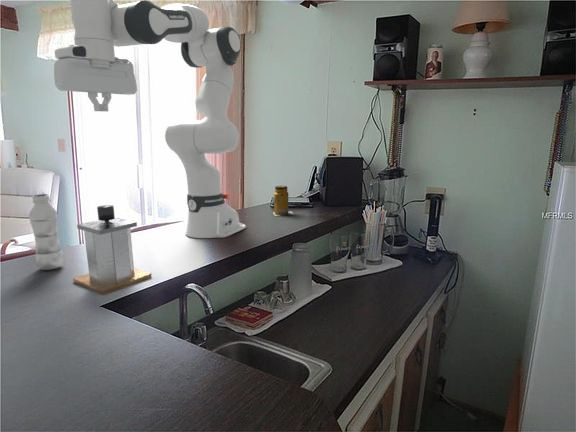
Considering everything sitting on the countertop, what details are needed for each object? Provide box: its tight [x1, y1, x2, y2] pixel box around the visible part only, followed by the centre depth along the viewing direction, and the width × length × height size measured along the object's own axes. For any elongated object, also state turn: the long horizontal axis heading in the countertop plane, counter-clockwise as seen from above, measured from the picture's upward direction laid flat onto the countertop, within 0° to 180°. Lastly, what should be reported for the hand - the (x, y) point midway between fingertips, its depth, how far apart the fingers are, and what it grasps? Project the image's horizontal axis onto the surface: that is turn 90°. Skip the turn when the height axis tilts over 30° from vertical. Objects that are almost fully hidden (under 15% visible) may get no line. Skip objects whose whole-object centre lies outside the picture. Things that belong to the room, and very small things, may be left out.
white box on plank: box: [72, 217, 152, 296], centre depth 99 cm, size 13×13×14 cm
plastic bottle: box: [28, 193, 65, 271], centre depth 106 cm, size 6×7×20 cm
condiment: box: [272, 185, 295, 217], centre depth 172 cm, size 7×8×12 cm
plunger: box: [96, 204, 115, 225], centre depth 99 cm, size 7×7×17 cm
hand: (101, 111), depth 104 cm, fingers closed
